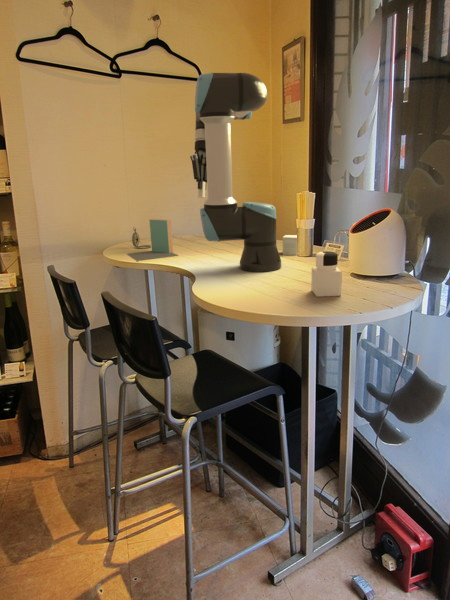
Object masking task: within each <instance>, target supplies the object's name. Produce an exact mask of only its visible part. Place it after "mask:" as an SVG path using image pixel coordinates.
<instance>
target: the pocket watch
mask: <svg viewBox="0 0 450 600" xmlns="http://www.w3.org/2000/svg"><path fill="white" fill-rule="evenodd" d="M133 231H134V232H133V233H132V236H131V237H132V238H131V242H132V245H133V246H134V247H136V249H137V250H147V249H150V248H151V249H152V245H149V244H148V245H147V244H145V245H144V244H143V245H140V235H139V233H138V232H137V228H136V227H135V226H133Z"/></svg>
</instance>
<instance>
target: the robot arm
mask: <svg viewBox="0 0 450 600" xmlns="http://www.w3.org/2000/svg"><path fill="white" fill-rule="evenodd" d="M194 97H195V99H194V112H195V132H194V140H195V142H194V151H195V152H194V154H192V155H190V156H189V158H190V161H191V164H192V165H191V166H192V173H193V179H194V180H195V182H197V189H198V192H197V193H198V195H197V198H198V199H199V198H200V199H202V198H204V199H205V198H206V190H207V199H206V200H204V202H203V207H202V208H200V209H199V212H200V221H201V226H202V227H201V228H202V230H203V235H204V238H205V240H207V241H208V242H222V241H223V242H228V241H243V250H242V253H241V257H240V260H239V269H241V270H242V271H247V272H254V273H255V272H258V273H259V272H270V271H276V270H279V269H281V268H282V259H281V255H280V253H279V250H278V247H277V219H278V218H277V210H276V209H277V208H276V207H275V206H274V205H273V204H270V203H263V202H254V201H244V202H243V203H242V206H238V200H236V199H235V198H234V197H233V165H232V164H233V162H232V161H233V159H232V157H233V156H232V129H231V128H232V127H231V125H232V122H233V121H234V120H237V121H239V120H241V121H243V120H244V121H245V120H250V119H251V118H252V115H253V112H255V111H257V110H258V111H259V110H260V109H261V108H262V107H263V106H264V105H265V104H266V102H267V99H268V90H267V86H266V85H265V83H264V81H263V80H262V79H260V78H259V77H258V76H256V75H254V74H251V73H248V72H209V73H201V74H200V75H199V76H198V77H197V80H196V85H195V96H194Z"/></svg>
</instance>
